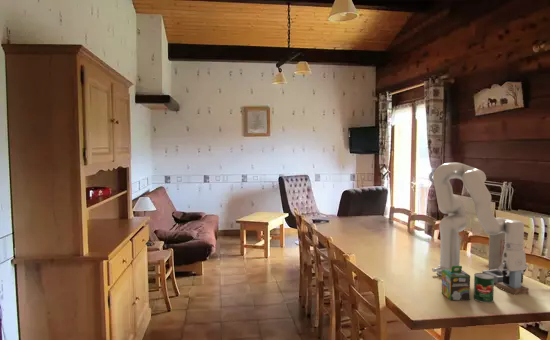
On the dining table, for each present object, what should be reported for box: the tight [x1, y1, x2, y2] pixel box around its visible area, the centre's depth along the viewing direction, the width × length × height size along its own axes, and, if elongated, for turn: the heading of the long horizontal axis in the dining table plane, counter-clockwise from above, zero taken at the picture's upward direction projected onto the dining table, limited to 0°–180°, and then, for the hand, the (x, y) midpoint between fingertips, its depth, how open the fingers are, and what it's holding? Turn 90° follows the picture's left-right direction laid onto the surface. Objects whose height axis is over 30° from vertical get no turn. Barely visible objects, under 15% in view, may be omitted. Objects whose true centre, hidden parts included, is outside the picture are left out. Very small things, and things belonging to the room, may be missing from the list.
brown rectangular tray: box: [496, 282, 529, 295], centre depth 189 cm, size 8×10×2 cm
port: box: [481, 269, 503, 285], centre depth 201 cm, size 10×10×4 cm
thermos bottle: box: [487, 233, 505, 270], centre depth 218 cm, size 8×8×28 cm
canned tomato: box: [473, 272, 495, 304], centre depth 178 cm, size 8×8×11 cm
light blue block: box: [505, 270, 522, 289], centre depth 189 cm, size 4×6×10 cm, turn 14°
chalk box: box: [441, 265, 471, 301], centre depth 181 cm, size 9×9×15 cm
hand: (512, 282), depth 189 cm, fingers open, 7 cm apart
